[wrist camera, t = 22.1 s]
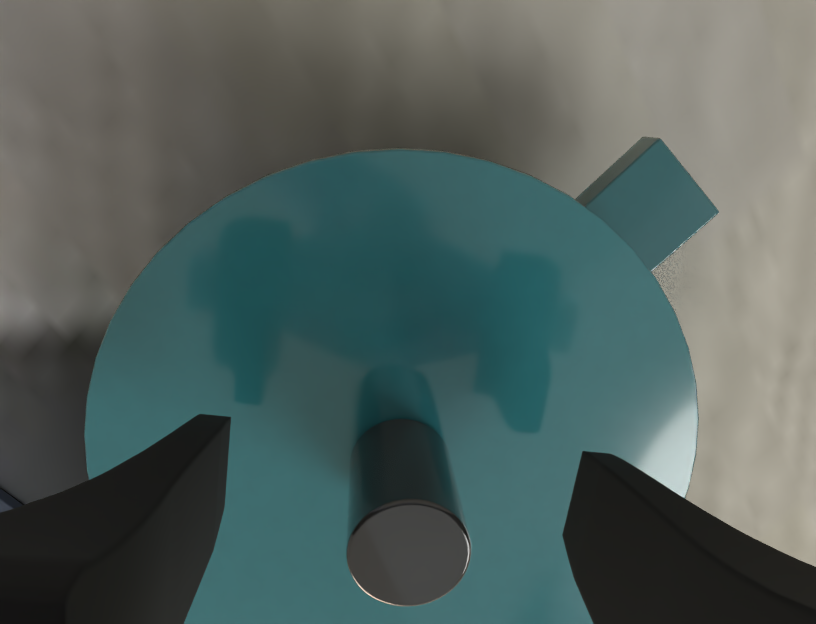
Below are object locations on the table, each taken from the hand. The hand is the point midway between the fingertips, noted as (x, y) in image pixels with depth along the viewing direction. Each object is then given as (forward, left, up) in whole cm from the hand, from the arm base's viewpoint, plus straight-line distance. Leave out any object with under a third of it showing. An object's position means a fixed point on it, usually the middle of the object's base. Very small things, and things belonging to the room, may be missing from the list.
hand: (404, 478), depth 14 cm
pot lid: (+1, -1, -3) cm, 3 cm away
